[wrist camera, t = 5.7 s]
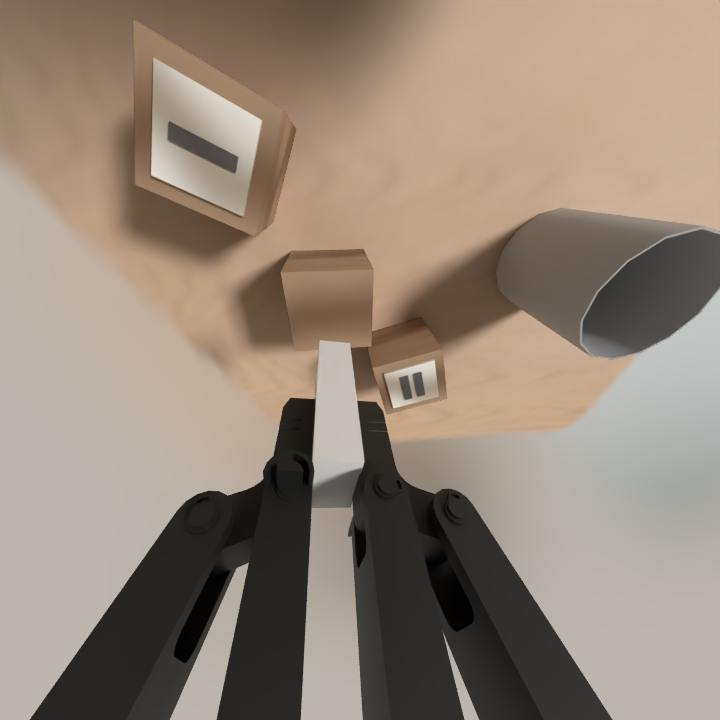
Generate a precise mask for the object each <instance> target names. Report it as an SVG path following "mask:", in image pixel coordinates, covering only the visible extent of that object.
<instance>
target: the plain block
mask: <svg viewBox="0 0 720 720" xmlns="http://www.w3.org/2000/svg"><path fill="white" fill-rule="evenodd" d="M280 273H281V278H282V284H283V289H284V295H285V300H286V306H287V311H288V317H289V323H290V328H291V334H292V339H293V345H294V350H295V351H302V350H319V342H320V340H323V341H333V342H343V343H350V348H355V347H371V342H372V305H373V267H372V265H371V263H370V261H369V259H368V257H367V255H366V253H365V251H364V249H354V250H314V251H291V253H290V255H289V257H288V259H287V261H286V263H285V265H284V266H283V268H282V270H281V272H280Z"/></svg>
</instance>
